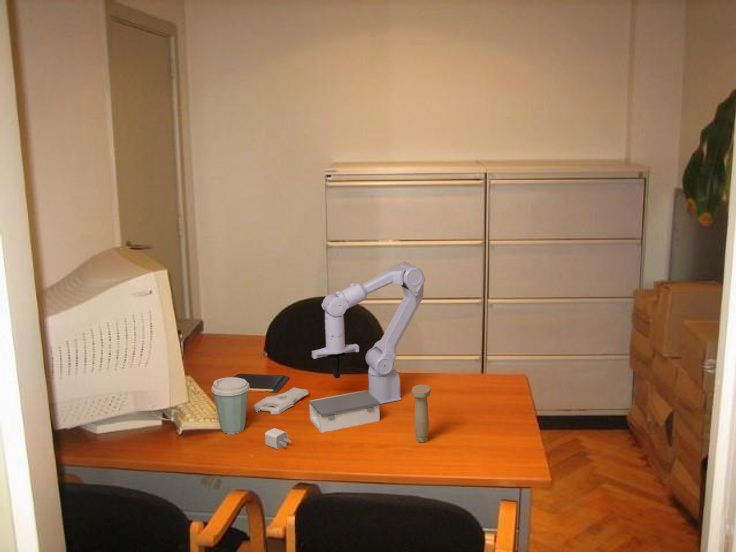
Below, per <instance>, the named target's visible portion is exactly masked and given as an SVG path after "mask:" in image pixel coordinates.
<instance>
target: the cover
mask: <svg viewBox="0 0 736 552" xmlns="http://www.w3.org/2000/svg"><path fill="white" fill-rule="evenodd" d="M308 401H309V403H308V404H311V405H312V407H313V408H314V409H315V410H316V411H317V412H318V413H319V414H320V416H326V415H332V414H337V413H342V412H347V411H352V410H357V409H362V408H368V407H373V406H378V405H379V406H381V404H380V402H379V401H378V400H377V399H376V398H374V397H373V396H372V395H371V394H370V393H369V390H367V389H366V390H360V391H355V392H349V393H343V394H337V395H331V396H326V397H321V398H317V399H311V400H308Z"/></svg>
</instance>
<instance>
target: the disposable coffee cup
mask: <svg viewBox="0 0 736 552" xmlns="http://www.w3.org/2000/svg"><path fill="white" fill-rule="evenodd" d="M249 387H250V386H249V383H248V382H247V381H246V380H244V379H241V378H236V377H234V376H233V377H232V376H230V377H227V376H226V377H221V378H219V379H215V380H214V381H213V383H212V386H211V392H212V395H213V399H214V404H215V409H216V413H217V418H218V422H219V427H220V429H221V432H222V433H223V434H225V433H227V434H226V435H236V434H235V433H237V434H240V433H242V432H244V430H245V426H246V421H247V420H246V419H247V410H248V400H249V399H248V398H249V392H248V391H249ZM241 431H242V432H241ZM239 432H240V433H239Z"/></svg>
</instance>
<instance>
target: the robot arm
mask: <svg viewBox="0 0 736 552" xmlns="http://www.w3.org/2000/svg"><path fill="white" fill-rule="evenodd" d="M425 282H426V277H425V274H424V272H423V270H422V269H421V268H419V267H417V266H414V265H412V264H411V263H410V262H407V261H400V262H398V264H394V265H392V266H391V267H389V268H388V269H387V270H384V271H383V272H381V273H380V274H378V275H376V276H374V277H372V278H371V279H369V280H367V281H366V282H364V283H359V282H356V283H354V282H351V283H349V286H348V287H345V288H344V289H342V290H340V291H339V290H337V291H335V294H334V293H330V294H328V295H326V296H325V297H324V298H323V300H322V302H321V308H322V309H323V311H324V330H325V347H323V348H320V349H315V350H312V351H311V358H312V359H313V360H315V359H318V358H323V357H325V358H326V360H327V362H328V363H329V366H330V369H331V372H332V375H333V378H335V379H340V378H341V372H342V369H343V366H344V363H345V362H346V360H347V355H346V354H347V353H348V354H349V353H359V352H360V346H359V345H358V344H357V343H354V344H346V342H345V341H346V340H345V338H346V337H345V319H344V318H345V317H344V314H346V310H348V309H350V308H352V307H354V306H356V305H358V304H360V303H362V302H364V301H366V299H367V296H368V295H369V294H371V293H373V292H376V291H378V290H380V289H382V288H384V287H386V286H388V285H391V284H393V285H398V286H401V289H402V291H403V295H404V296H403V297H402V300H401V302H400V303H399V305H398V307H397V309H396V311H395V313H394V314H393V316H392V319H391V320H390V322H389V323H388V326H387V328H386V330H385V331H384V332H383V333H384V334H383V335H382V337H381V339H380V340H378V341H376V342H375V343H374V345H373V346H372V347H371V348H370V349H369V350H367V352H366V354H365V362H366V364H367V365H368V371H367V372H368V373H367V375H368V392H369V393H370V394H371V395H372V396H373V397H374V398H376V399H377V400H378V401H379V402H380V405H382V404H387V403H391V402H392V403H393V402H396V401H401V400H402V398H401V378H400V375H399V372H398V371H397V370H396V369H394V368H395V360H396V358H397V347H398V345H399V344H400V342H401V340H402V338H403V336H404V334H405V332H406V331H407V329H408V326H409V325H410V323H411V321H412V319H413V317H414V316H415V313H416V312H417V310H418V308H419V307H420V304H421V302H422V301H423V299H424V289H425V287H424V285H425Z"/></svg>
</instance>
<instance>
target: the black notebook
mask: <svg viewBox="0 0 736 552" xmlns="http://www.w3.org/2000/svg"><path fill="white" fill-rule="evenodd" d="M233 377H236V378H241V379H244V380H246V381H247V382H248V383H249V386H250V387H249V390H252V391H265V392H269V393H270V394H278V393H279V392H280V391H281V390H282V389H283V387H284V386H285V385H286V384H287V382H288V381H289V380H290V379H291V377H290V376H287V375H283V374H266V373H265V374H263V373H262V374H259V373H237V374H236V375H234V376H233ZM269 393H268V394H269Z"/></svg>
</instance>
